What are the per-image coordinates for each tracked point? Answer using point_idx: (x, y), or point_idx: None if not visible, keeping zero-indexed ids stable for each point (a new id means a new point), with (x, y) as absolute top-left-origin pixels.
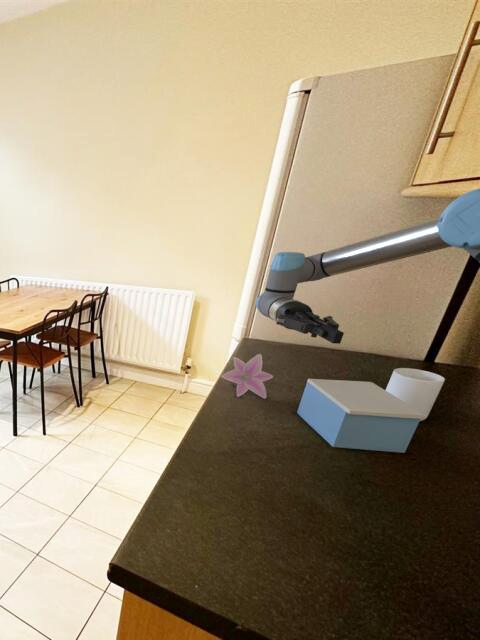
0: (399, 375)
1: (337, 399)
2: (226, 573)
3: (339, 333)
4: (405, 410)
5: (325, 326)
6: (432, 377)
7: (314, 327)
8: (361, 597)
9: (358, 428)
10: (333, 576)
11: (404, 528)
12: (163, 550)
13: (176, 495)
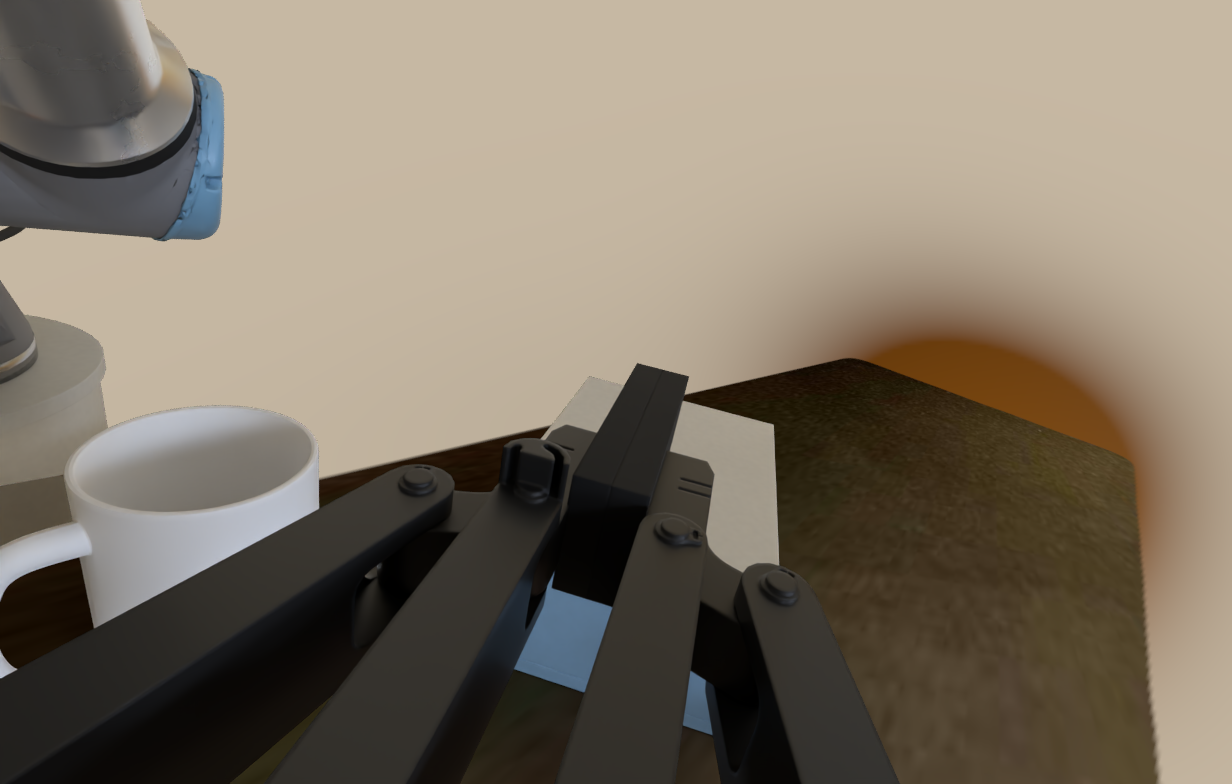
0: (307, 474)
1: (769, 458)
2: (1009, 431)
3: (665, 377)
4: (616, 394)
5: (652, 459)
6: (100, 460)
7: (710, 551)
8: (876, 395)
9: None
10: (894, 408)
11: (765, 415)
12: (1089, 459)
13: (1106, 512)
